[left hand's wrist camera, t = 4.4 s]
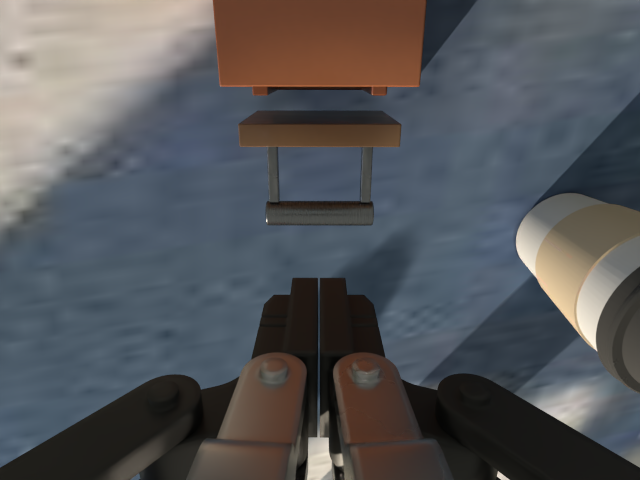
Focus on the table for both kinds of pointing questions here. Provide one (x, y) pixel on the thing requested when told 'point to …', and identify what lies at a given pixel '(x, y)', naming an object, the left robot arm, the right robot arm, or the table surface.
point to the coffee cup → (590, 273)
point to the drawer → (319, 132)
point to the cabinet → (319, 42)
